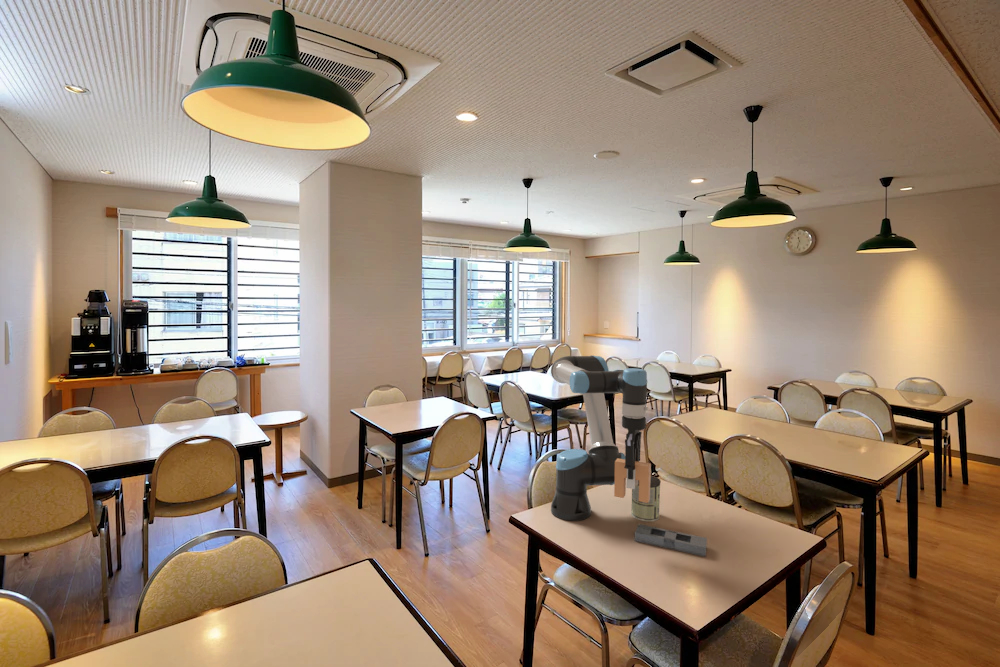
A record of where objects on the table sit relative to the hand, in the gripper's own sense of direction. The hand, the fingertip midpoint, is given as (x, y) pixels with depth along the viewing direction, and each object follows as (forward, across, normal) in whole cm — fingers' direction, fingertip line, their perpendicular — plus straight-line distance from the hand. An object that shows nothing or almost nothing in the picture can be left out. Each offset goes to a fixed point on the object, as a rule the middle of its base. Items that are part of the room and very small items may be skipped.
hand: (632, 485), depth 157 cm
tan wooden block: (+4, 0, 0) cm, 4 cm away
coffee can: (+20, +24, 0) cm, 31 cm away
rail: (+20, +7, -11) cm, 24 cm away
